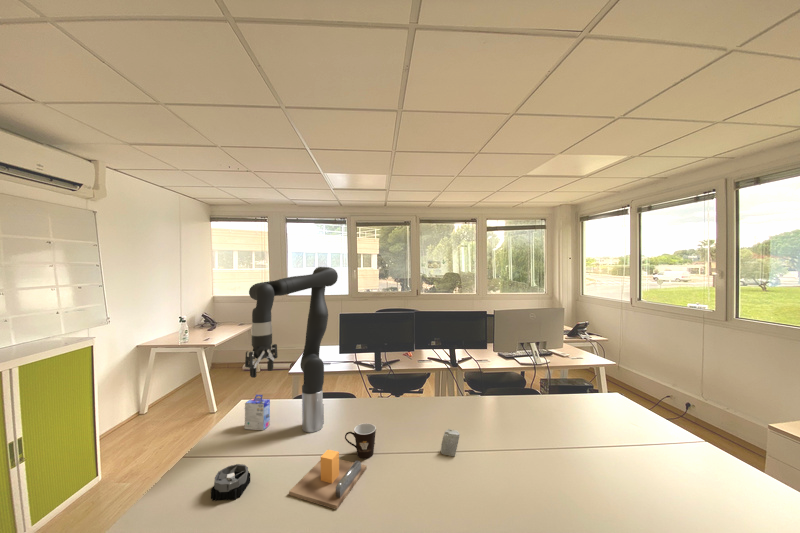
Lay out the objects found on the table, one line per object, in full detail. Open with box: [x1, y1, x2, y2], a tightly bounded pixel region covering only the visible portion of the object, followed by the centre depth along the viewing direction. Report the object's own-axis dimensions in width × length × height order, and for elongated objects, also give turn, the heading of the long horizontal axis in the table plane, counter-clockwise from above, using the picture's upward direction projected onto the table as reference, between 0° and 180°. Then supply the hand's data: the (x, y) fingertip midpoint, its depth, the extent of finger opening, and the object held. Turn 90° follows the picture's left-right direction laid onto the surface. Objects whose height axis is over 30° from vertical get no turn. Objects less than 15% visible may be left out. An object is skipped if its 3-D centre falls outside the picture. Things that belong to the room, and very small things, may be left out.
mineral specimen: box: [440, 428, 461, 457], centre depth 120 cm, size 7×9×8 cm
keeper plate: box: [288, 458, 368, 510], centre depth 104 cm, size 20×18×5 cm
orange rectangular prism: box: [320, 449, 340, 483], centre depth 104 cm, size 4×4×8 cm
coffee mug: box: [344, 422, 377, 460], centre depth 120 cm, size 12×9×10 cm
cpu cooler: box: [210, 463, 251, 502], centre depth 100 cm, size 10×6×10 cm
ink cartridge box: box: [244, 394, 271, 431], centre depth 141 cm, size 10×6×14 cm, turn 83°
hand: (262, 373), depth 120 cm, fingers open, 8 cm apart
